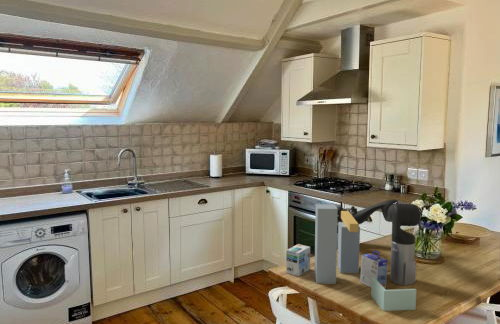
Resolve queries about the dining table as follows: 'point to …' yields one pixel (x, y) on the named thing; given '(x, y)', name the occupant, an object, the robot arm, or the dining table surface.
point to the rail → (349, 221)
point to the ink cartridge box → (373, 269)
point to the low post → (348, 249)
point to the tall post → (325, 243)
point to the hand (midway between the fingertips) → (344, 208)
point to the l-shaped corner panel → (393, 297)
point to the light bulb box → (298, 260)
